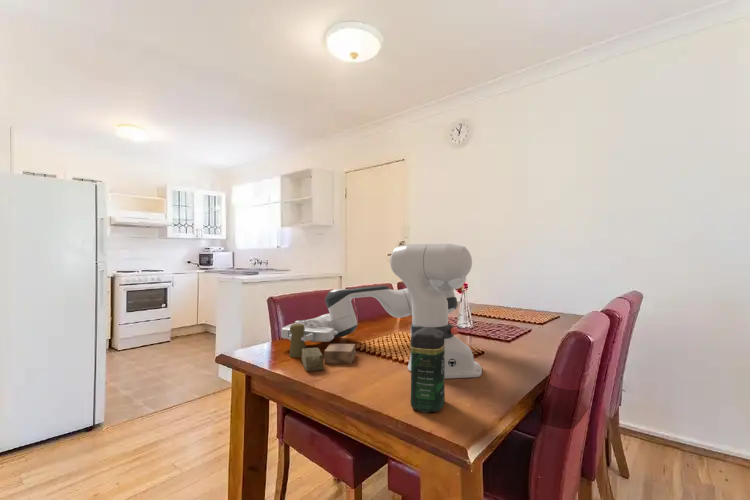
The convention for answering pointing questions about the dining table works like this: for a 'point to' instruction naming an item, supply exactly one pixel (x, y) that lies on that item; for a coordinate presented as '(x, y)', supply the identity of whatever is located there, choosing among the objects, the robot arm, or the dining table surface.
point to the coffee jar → (427, 369)
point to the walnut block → (339, 353)
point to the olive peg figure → (296, 340)
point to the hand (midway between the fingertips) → (296, 338)
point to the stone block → (312, 359)
